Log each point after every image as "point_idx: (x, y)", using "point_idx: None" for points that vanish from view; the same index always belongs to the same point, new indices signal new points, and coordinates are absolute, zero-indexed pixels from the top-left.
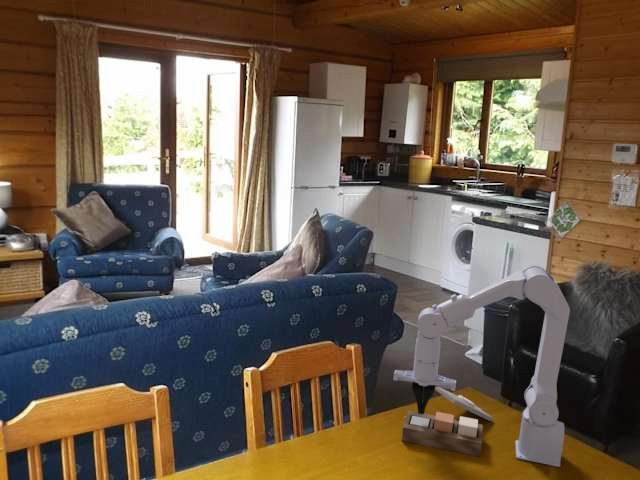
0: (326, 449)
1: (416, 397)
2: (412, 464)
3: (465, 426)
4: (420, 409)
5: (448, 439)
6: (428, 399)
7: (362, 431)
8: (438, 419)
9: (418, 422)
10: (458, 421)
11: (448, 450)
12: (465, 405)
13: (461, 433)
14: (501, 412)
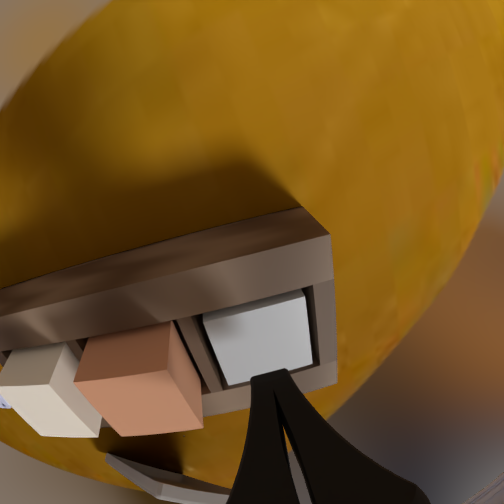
0: (486, 22)
1: (347, 454)
2: (179, 35)
3: (27, 381)
4: (279, 392)
5: (74, 290)
6: (238, 484)
7: (449, 186)
8: (149, 380)
9: (266, 332)
10: None
11: (87, 262)
12: (137, 482)
13: (50, 352)
14: (119, 477)
